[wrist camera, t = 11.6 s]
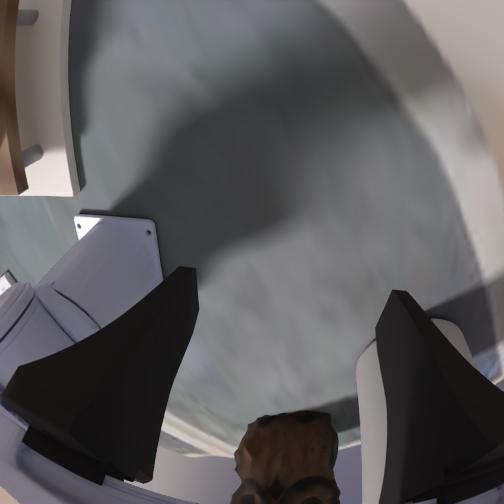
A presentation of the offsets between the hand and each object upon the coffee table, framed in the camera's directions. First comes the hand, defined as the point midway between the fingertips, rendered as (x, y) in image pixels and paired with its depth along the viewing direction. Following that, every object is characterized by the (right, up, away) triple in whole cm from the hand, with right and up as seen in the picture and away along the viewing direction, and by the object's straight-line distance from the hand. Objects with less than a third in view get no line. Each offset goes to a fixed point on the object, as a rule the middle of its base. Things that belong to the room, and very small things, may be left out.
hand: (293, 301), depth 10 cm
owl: (+4, -25, +28) cm, 38 cm away
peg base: (-21, +16, +5) cm, 27 cm away
